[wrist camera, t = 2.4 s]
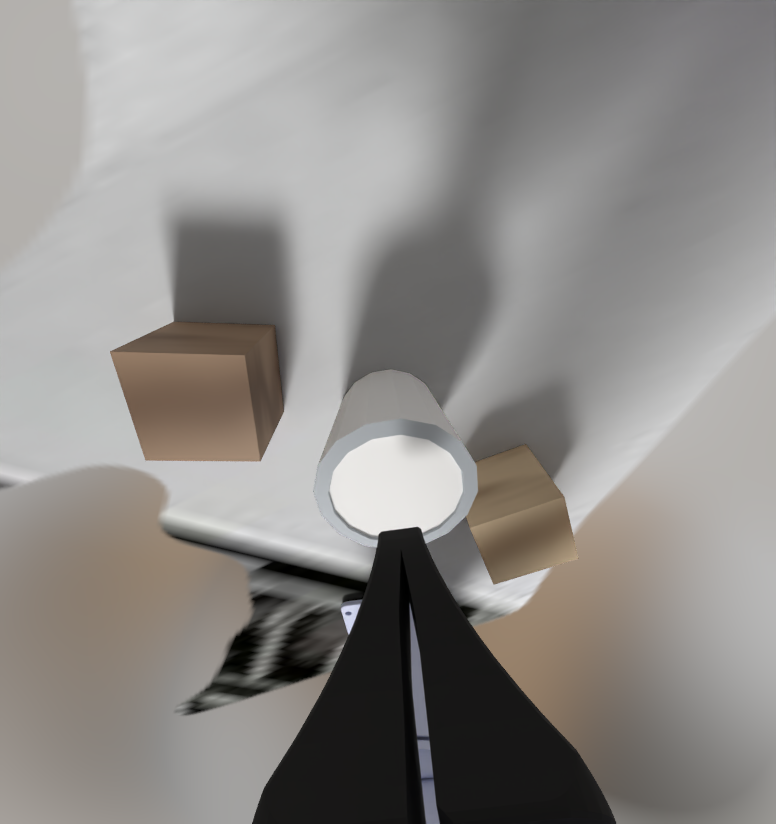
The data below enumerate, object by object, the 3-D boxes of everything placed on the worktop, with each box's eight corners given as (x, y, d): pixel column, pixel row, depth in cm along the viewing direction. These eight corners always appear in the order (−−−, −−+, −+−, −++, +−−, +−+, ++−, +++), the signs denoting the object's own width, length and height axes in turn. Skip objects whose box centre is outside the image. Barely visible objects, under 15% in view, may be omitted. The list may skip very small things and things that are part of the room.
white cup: (356, 338, 19) (350, 393, 12) (468, 386, 20) (512, 456, 14) (313, 440, 21) (290, 527, 15) (414, 475, 23) (431, 567, 17)
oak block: (540, 498, 24) (578, 558, 20) (471, 521, 25) (493, 584, 21) (525, 443, 22) (564, 496, 18) (450, 470, 23) (469, 528, 18)
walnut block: (284, 411, 20) (260, 461, 16) (195, 409, 20) (145, 460, 16) (275, 324, 18) (244, 355, 14) (174, 321, 18) (110, 351, 13)
